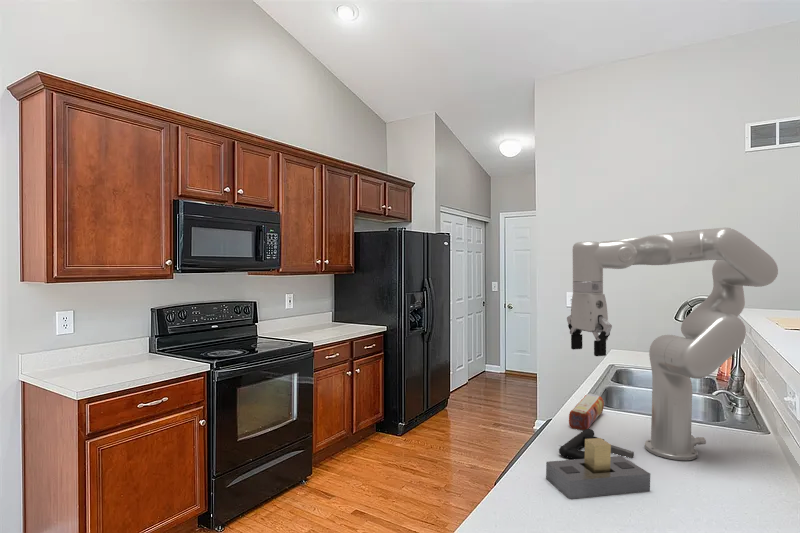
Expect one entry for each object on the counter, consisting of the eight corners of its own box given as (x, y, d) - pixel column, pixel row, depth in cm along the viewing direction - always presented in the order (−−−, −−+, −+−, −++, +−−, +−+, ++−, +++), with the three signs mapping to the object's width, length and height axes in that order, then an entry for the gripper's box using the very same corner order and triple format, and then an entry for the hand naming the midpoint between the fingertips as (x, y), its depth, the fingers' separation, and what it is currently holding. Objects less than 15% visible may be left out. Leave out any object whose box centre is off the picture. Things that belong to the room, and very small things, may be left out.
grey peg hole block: (620, 472, 118) (621, 455, 118) (649, 491, 109) (650, 473, 109) (546, 478, 114) (546, 461, 114) (569, 499, 105) (569, 480, 104)
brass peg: (599, 480, 114) (600, 438, 114) (609, 488, 110) (610, 444, 110) (583, 481, 113) (584, 438, 113) (593, 489, 109) (594, 445, 109)
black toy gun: (640, 442, 133) (581, 425, 143) (617, 465, 117) (553, 444, 128) (639, 454, 133) (580, 436, 143) (616, 479, 118) (552, 456, 128)
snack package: (589, 433, 146) (589, 410, 146) (566, 428, 150) (567, 406, 149) (604, 415, 163) (604, 395, 163) (583, 411, 167) (584, 391, 167)
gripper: (622, 289, 121) (622, 357, 122) (579, 286, 138) (580, 346, 138) (596, 290, 119) (597, 359, 120) (556, 286, 136) (557, 347, 136)
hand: (588, 352), depth 129 cm, fingers open, 9 cm apart
